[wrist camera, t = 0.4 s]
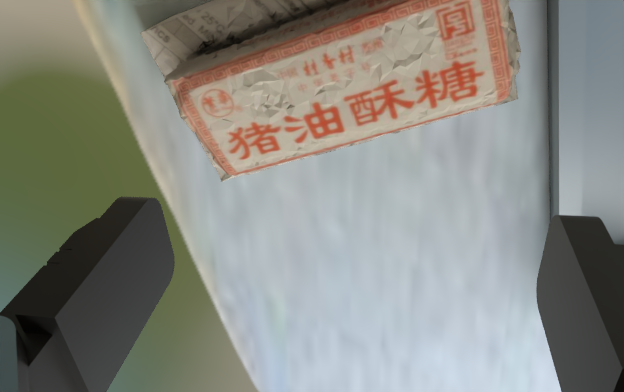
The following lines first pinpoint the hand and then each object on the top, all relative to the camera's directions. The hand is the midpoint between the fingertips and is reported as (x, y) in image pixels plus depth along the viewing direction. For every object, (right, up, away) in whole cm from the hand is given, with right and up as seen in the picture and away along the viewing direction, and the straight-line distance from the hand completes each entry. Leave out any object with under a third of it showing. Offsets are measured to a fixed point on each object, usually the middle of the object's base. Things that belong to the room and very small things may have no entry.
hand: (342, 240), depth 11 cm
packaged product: (0, +9, +18) cm, 20 cm away
